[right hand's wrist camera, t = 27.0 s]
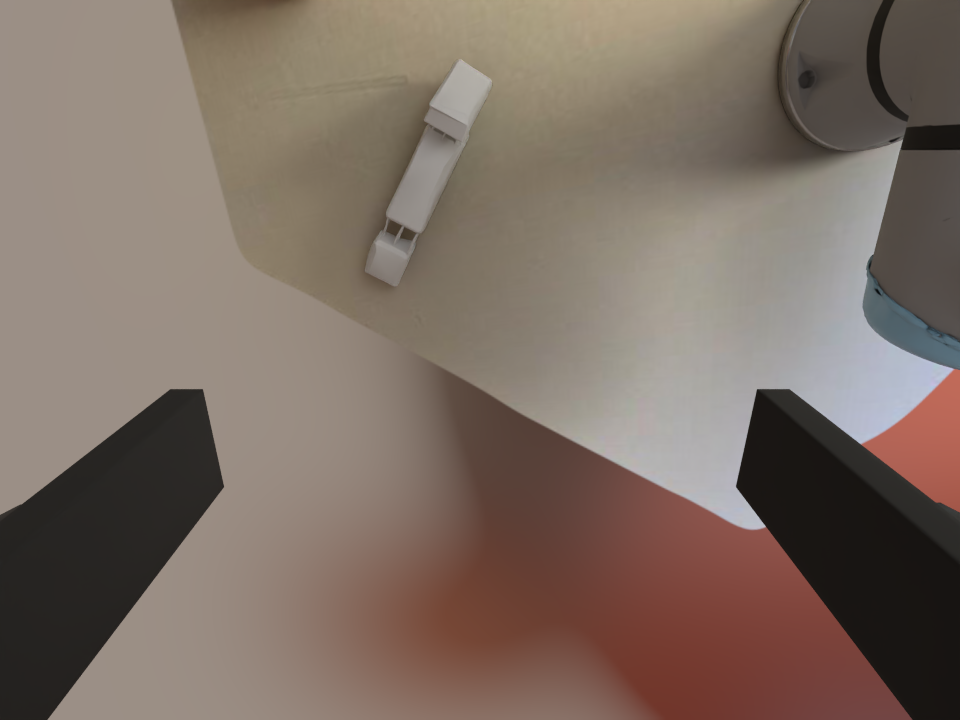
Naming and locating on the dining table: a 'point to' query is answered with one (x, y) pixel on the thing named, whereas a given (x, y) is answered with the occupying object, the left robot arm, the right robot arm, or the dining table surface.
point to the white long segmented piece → (429, 168)
